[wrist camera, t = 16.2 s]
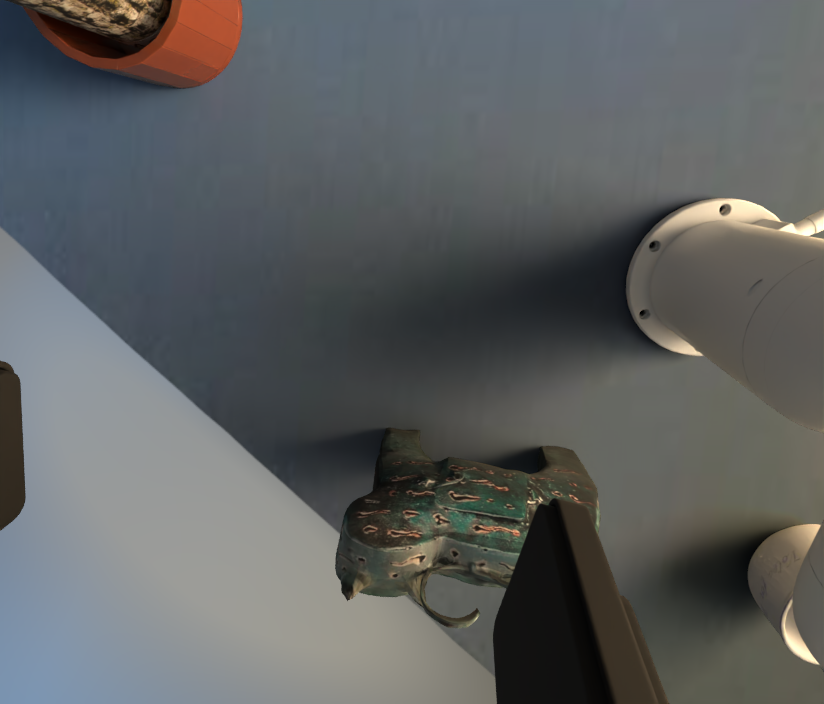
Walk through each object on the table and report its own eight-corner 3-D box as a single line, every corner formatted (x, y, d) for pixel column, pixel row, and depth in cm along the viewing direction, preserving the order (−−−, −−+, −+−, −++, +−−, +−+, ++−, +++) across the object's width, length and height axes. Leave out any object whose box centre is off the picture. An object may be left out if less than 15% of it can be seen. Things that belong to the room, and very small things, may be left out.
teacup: (742, 506, 49) (793, 568, 42) (866, 506, 48) (941, 569, 41) (722, 620, 54) (765, 694, 47) (834, 622, 53) (897, 698, 46)
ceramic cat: (365, 465, 51) (314, 640, 32) (370, 405, 49) (317, 556, 30) (571, 490, 50) (641, 684, 31) (585, 430, 48) (669, 601, 29)
